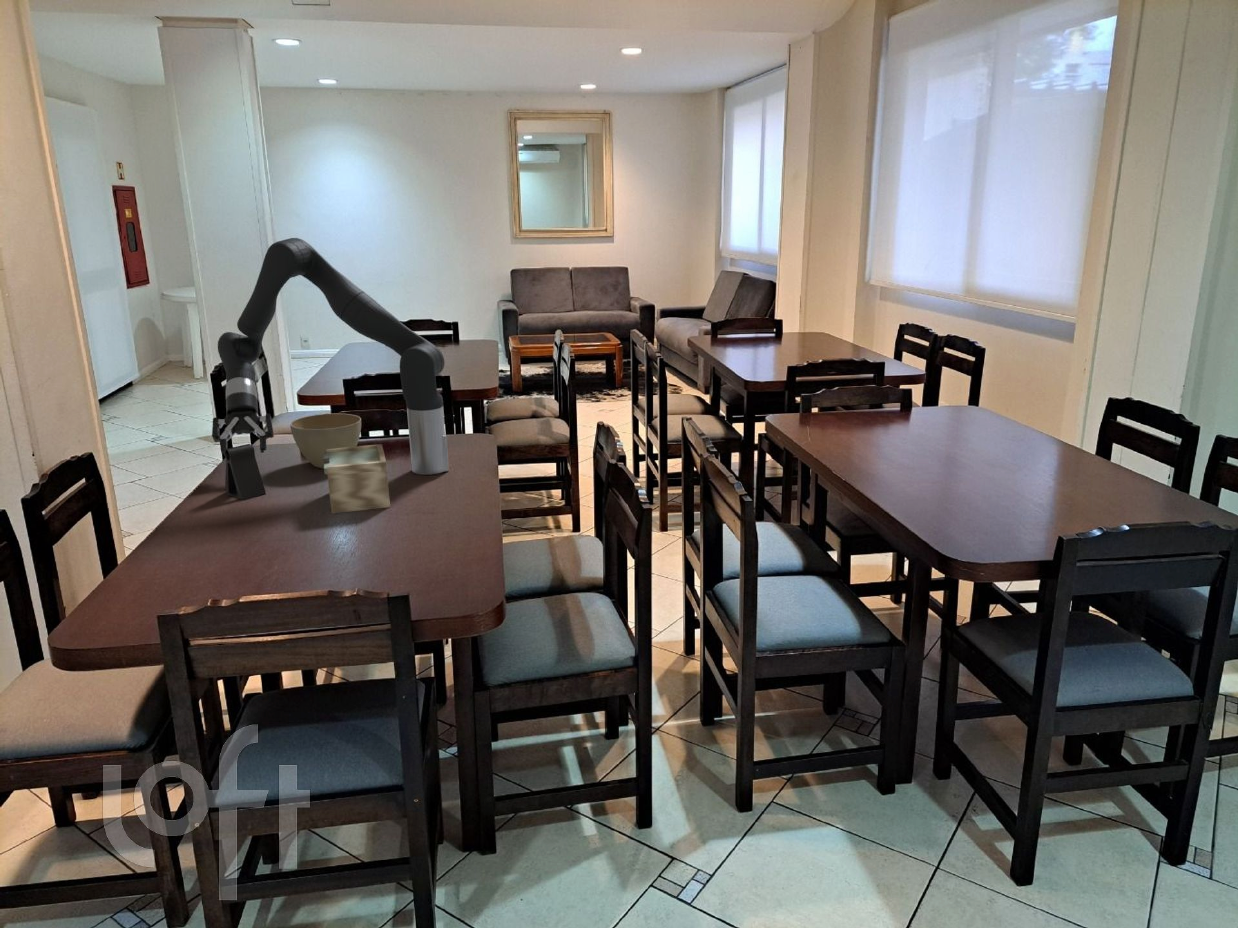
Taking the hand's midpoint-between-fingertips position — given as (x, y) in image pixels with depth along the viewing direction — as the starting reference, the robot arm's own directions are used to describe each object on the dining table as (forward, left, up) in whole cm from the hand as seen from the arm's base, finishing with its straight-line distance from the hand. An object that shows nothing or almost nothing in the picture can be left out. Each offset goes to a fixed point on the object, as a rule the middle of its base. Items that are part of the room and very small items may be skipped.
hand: (244, 452), depth 215 cm
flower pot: (-20, -10, -8) cm, 24 cm away
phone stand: (0, +9, -8) cm, 12 cm away
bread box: (-27, +23, -8) cm, 36 cm away
